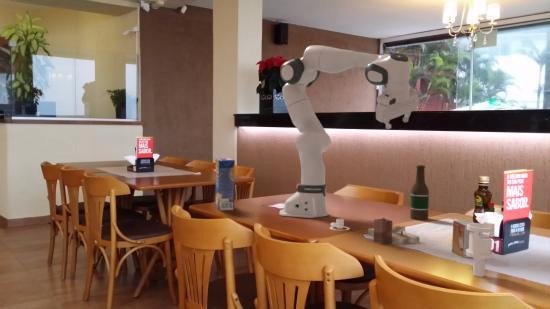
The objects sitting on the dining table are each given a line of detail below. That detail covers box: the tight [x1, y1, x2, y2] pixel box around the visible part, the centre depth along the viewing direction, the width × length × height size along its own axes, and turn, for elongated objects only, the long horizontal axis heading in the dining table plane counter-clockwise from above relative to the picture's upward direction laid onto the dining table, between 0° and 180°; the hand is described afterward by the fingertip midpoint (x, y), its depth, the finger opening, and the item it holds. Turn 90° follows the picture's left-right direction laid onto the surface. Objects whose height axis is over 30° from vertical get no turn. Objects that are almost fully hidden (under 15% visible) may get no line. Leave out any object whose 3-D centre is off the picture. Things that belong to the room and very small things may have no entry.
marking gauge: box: [373, 217, 406, 246], centre depth 169 cm, size 12×4×9 cm, turn 115°
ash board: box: [367, 227, 420, 246], centre depth 175 cm, size 9×18×2 cm, turn 25°
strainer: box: [466, 221, 495, 278], centre depth 132 cm, size 7×7×15 cm
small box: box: [451, 219, 482, 259], centre depth 153 cm, size 8×6×10 cm
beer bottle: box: [409, 164, 430, 221], centre depth 213 cm, size 8×8×24 cm
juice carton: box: [214, 158, 236, 211], centre depth 234 cm, size 12×8×24 cm, turn 16°
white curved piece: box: [329, 218, 351, 231], centre depth 191 cm, size 9×8×4 cm
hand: (397, 124), depth 198 cm, fingers open, 8 cm apart
